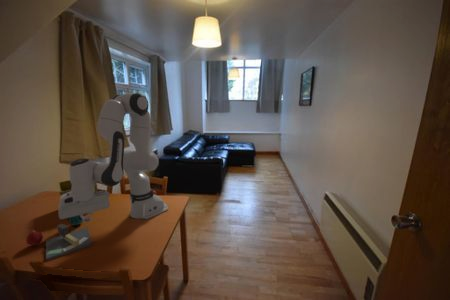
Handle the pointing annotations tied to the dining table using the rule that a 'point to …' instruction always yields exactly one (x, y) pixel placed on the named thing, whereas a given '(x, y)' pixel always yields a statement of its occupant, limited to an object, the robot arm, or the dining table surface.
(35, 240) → the onion
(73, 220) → the beverage bottle
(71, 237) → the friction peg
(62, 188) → the flower pot
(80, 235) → the dial board
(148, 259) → the dining table surface
